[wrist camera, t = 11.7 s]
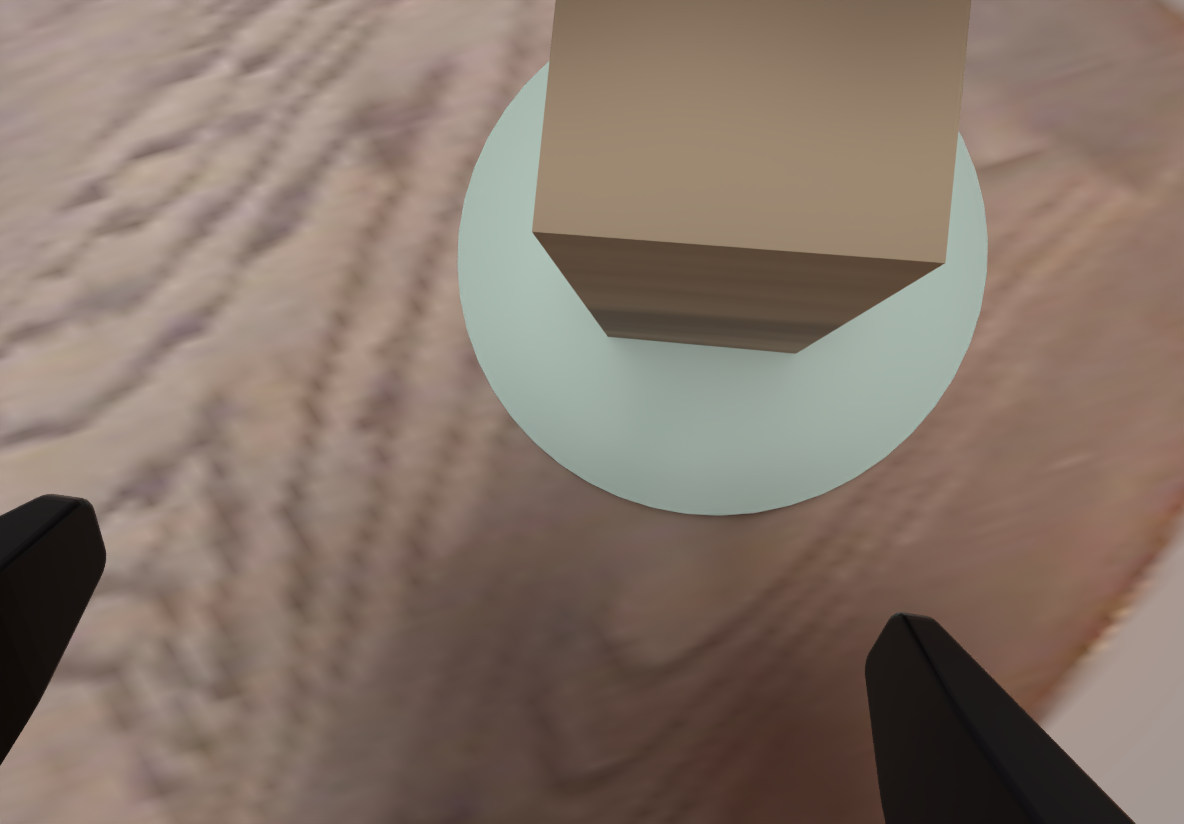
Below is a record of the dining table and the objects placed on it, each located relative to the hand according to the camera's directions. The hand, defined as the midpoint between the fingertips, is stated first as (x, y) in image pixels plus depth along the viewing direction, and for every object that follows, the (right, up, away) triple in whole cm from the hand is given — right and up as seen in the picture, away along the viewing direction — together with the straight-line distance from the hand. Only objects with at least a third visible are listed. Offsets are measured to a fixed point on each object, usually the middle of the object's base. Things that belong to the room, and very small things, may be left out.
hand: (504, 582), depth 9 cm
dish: (+4, +6, +13) cm, 15 cm away
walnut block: (+4, +6, +12) cm, 14 cm away
